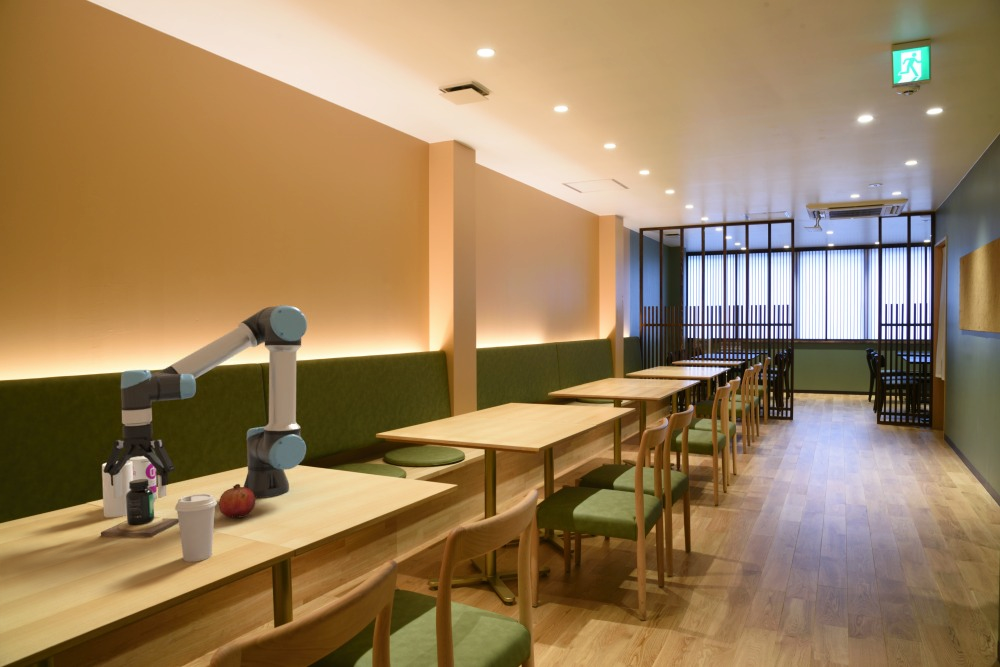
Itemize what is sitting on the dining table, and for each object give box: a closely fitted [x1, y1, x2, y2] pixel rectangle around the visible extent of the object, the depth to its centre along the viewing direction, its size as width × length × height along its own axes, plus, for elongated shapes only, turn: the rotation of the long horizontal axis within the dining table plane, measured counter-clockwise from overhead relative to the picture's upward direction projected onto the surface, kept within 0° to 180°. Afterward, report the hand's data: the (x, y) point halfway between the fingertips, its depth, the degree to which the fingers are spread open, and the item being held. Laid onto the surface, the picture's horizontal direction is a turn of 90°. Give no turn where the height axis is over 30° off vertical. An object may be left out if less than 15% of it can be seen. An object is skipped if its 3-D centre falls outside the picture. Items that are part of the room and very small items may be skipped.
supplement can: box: [129, 456, 158, 502], centre depth 215 cm, size 8×8×15 cm
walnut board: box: [100, 516, 179, 538], centre depth 186 cm, size 15×13×2 cm
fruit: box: [218, 483, 256, 519], centre depth 195 cm, size 11×10×10 cm
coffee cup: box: [174, 493, 218, 563], centre depth 162 cm, size 10×10×15 cm
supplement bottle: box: [126, 479, 155, 525], centre depth 186 cm, size 7×7×12 cm
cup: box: [101, 459, 133, 518], centre depth 202 cm, size 8×8×16 cm
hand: (140, 496), depth 186 cm, fingers open, 13 cm apart
